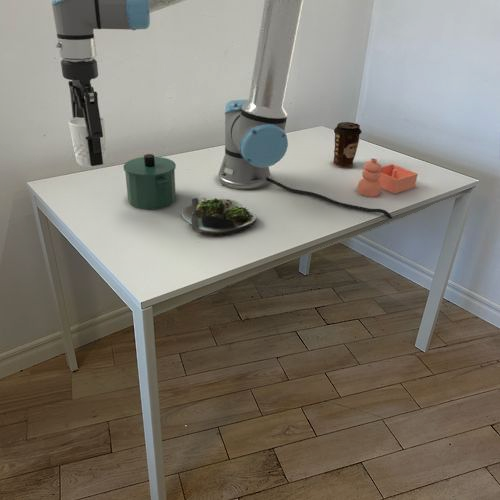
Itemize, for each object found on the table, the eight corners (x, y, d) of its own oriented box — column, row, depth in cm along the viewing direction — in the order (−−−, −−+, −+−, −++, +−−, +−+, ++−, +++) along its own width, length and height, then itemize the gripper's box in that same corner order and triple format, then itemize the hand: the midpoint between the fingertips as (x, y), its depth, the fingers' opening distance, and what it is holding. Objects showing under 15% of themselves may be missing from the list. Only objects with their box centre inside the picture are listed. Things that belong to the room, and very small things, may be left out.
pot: (160, 183, 143) (158, 153, 139) (187, 207, 130) (186, 174, 126) (118, 192, 137) (114, 160, 133) (142, 217, 125) (140, 183, 120)
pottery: (389, 176, 154) (395, 145, 149) (414, 187, 147) (421, 155, 142) (348, 189, 144) (352, 156, 140) (373, 200, 138) (378, 166, 133)
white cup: (68, 166, 118) (61, 123, 113) (83, 155, 124) (78, 114, 119) (100, 169, 117) (95, 126, 112) (113, 158, 123) (109, 117, 118)
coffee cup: (361, 164, 163) (367, 124, 156) (351, 171, 157) (356, 130, 150) (336, 158, 167) (341, 119, 160) (325, 165, 161) (330, 125, 154)
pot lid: (163, 157, 138) (162, 144, 136) (184, 173, 128) (183, 159, 126) (116, 165, 131) (115, 151, 129) (135, 183, 122) (133, 168, 120)
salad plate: (165, 210, 128) (164, 194, 126) (226, 197, 136) (226, 181, 134) (199, 243, 114) (199, 225, 112) (265, 226, 122) (266, 209, 120)
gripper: (49, 52, 114) (64, 149, 126) (74, 68, 99) (88, 176, 111) (82, 50, 118) (93, 144, 129) (111, 65, 103) (121, 170, 114)
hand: (91, 159), depth 120 cm, fingers closed on white cup, 8 cm apart
